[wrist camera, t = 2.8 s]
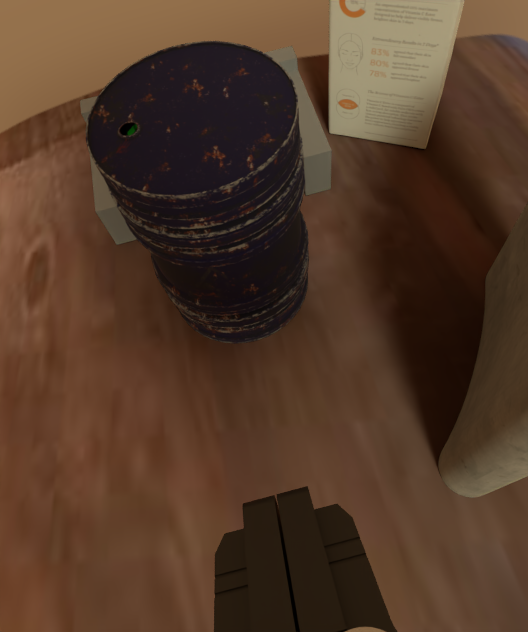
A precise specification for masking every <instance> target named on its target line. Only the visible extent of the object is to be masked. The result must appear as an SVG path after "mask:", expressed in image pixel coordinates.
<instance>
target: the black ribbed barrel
mask: <svg viewBox="0 0 528 632" xmlns="http://www.w3.org/2000/svg"><path fill="white" fill-rule="evenodd" d="M86 143H87V147H88V151H89V153H90V155H91V157H92V159H93V161H94V163H95V165H96V166H97V168H98V170H99V172H100V173H101V175H102V176H103V178H104V180H105V182H106V184H107V186H108V189H109V193H110V195H111V197H112V199H113V201H114V203H115V204H116V206H117V208H118V210H119V211H120V213H121V215H122V217H123V218H124V220H125V222H126V224H127V226H128V228H129V230H130V231H131V232H132V234H133V235H134V236H135V237H136V239H137V240H138V241H140V242H141V244H142V245H143V246H144V247H145V248H147V249H148V250H149V251H150V252H151V258H152V262H153V267H154V270H155V273H156V276H157V278H158V280H159V282H160V283H161V285H162V286H163V287H164V289H165V291H166V293H167V294H168V296H169V298H170V300H171V301H172V302H173V303H174V305H175V306H176V307H177V308H178V309H179V311H180V313H181V315H182V317H183V318H184V319H185V321H186V322H187V323H188V324H189V325H190V326H191V327H192V328H193V329H194V330H195V331H197V332H198V333H200V334H202V335H203V336H205V337H208V338H210V339H213V340H216V341H220V342H224V343H247V342H252V341H256V340H260V339H262V338H265V337H268V336H270V335H271V334H273V333H275V332H277V331H279V330H280V329H281V328H282V327H284V326H285V325H286V324H287V323H288V322H289V321H290V320H291V319H292V318H293V317H294V316H295V315H296V313H297V312H298V310H299V309H300V307H301V305H302V303H303V301H304V299H305V295H306V292H307V286H308V273H307V271H308V262H309V256H308V231H307V227H306V224H305V221H304V218H303V215H302V213H301V211H300V206H301V203H302V198H303V194H304V187H305V172H304V156H303V142H302V136H301V133H300V128H299V108H298V95H297V91H296V88H295V85H294V82H293V81H292V79H291V77H290V75H289V74H288V72H287V71H286V70H285V69H284V68H283V67H282V66H281V64H280V63H278V62H277V61H276V60H274V59H273V58H272V57H270V56H269V55H267V54H265V53H263V52H261V51H259V50H257V49H254V48H251V47H248V46H245V45H241V44H236V43H231V42H220V41H202V42H193V43H186V44H181V45H177V46H172V47H169V48H166V49H163V50H160V51H157V52H155V53H153V54H150V55H148V56H146V57H144V58H142V59H140V60H138V61H137V62H135V63H133V64H132V65H130V66H128V67H127V68H126V69H124V70H123V71H122V72H120V73H119V74H118V75H117V76H115V77H114V78H113V79H112V80H111V81H110V82H109V83H108V84H107V85H106V86H105V88H104V89H103V90H102V91H101V93H100V94H99V95H98V97H97V99H96V100H95V102H94V104H93V105H92V108H91V110H90V113H89V115H88V119H87V125H86Z"/></svg>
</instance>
